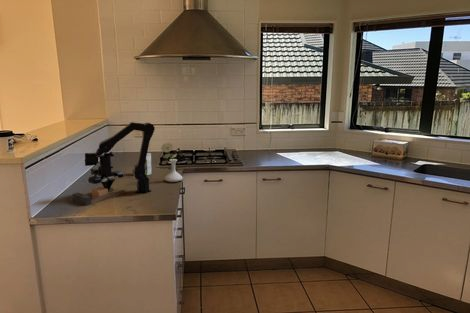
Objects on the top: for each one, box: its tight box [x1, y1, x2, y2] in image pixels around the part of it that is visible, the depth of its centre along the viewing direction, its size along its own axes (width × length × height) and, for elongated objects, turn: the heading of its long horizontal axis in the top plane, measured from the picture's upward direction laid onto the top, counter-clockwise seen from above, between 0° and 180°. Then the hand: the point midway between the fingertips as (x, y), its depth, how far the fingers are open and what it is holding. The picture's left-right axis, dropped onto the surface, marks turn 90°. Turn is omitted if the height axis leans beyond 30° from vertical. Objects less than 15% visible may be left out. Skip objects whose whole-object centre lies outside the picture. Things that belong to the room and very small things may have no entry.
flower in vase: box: [160, 142, 183, 183], centre depth 222 cm, size 13×11×25 cm
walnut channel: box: [72, 186, 125, 206], centre depth 190 cm, size 11×24×4 cm, turn 147°
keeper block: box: [90, 187, 109, 199], centre depth 190 cm, size 6×6×4 cm
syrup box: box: [145, 152, 152, 176], centre depth 238 cm, size 6×6×14 cm
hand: (107, 192), depth 194 cm, fingers closed
